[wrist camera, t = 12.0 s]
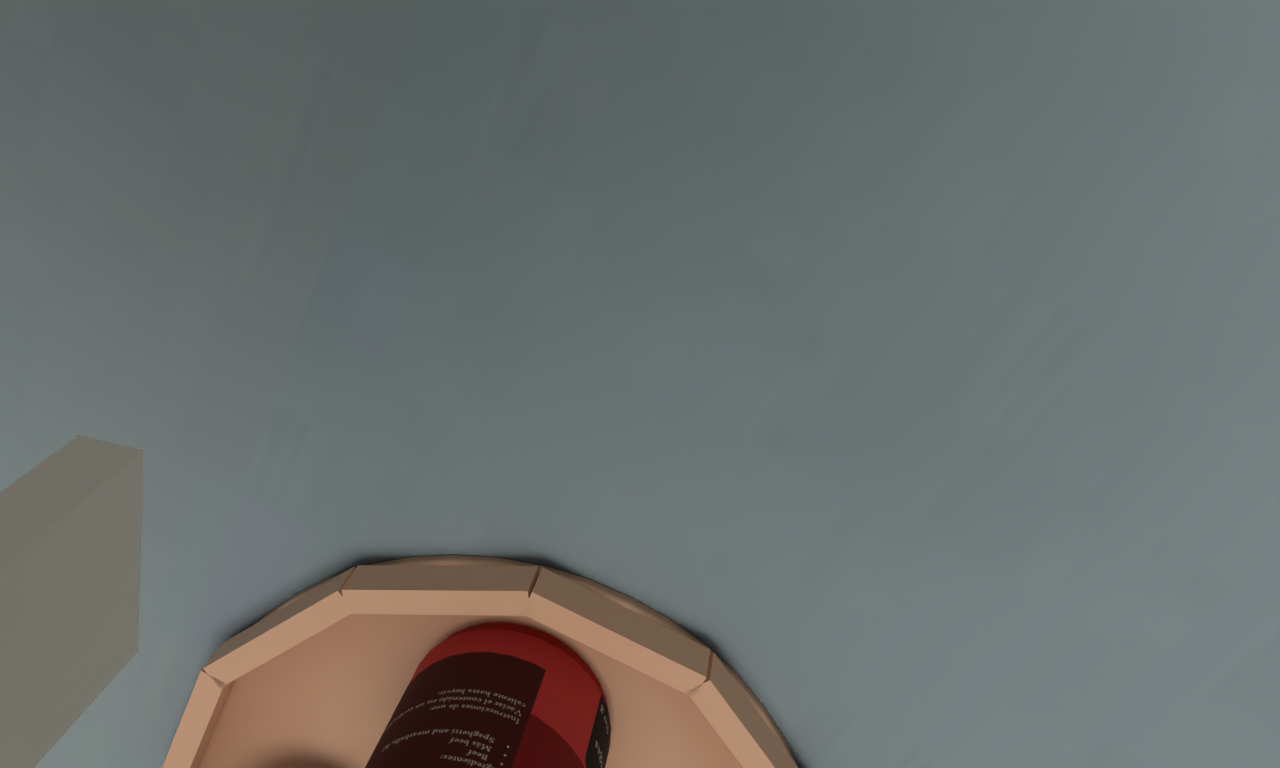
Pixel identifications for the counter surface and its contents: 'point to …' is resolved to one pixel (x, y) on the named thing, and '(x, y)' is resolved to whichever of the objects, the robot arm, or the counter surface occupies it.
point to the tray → (420, 620)
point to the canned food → (498, 706)
